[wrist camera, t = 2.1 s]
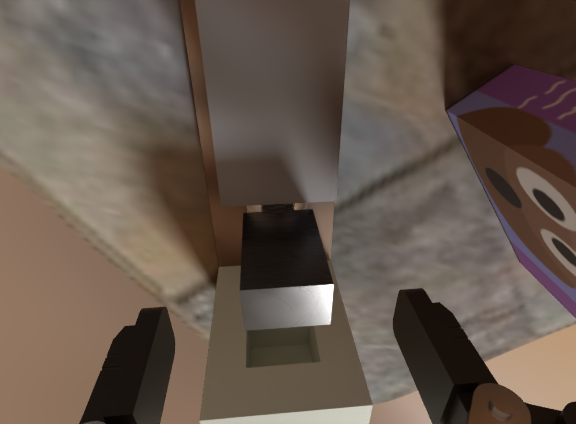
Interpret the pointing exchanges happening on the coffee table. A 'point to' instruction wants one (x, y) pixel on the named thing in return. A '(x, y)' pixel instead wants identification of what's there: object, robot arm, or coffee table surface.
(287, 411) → the socket block
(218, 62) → the board
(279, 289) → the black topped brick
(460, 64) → the coffee table surface
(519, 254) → the cereal box
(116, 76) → the coffee table surface
